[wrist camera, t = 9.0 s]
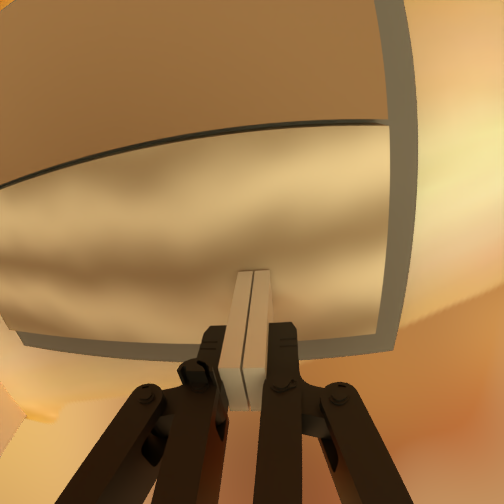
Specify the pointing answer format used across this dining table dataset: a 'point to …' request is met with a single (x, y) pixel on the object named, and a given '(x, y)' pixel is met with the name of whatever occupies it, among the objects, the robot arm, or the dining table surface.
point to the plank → (201, 235)
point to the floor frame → (208, 103)
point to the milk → (8, 418)
